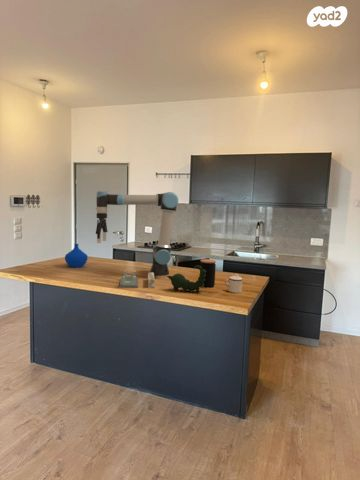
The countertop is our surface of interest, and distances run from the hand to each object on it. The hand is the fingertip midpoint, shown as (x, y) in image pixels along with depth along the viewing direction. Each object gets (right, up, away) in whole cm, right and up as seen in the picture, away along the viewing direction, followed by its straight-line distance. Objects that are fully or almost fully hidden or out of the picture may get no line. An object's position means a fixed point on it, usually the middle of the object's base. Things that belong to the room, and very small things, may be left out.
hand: (101, 242), depth 242 cm
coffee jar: (+76, -31, -9) cm, 83 cm away
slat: (+37, -30, -10) cm, 48 cm away
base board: (+22, -29, -12) cm, 38 cm away
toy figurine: (+61, -32, -25) cm, 73 cm away
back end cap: (+21, -26, -4) cm, 34 cm away
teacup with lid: (+93, -33, -20) cm, 100 cm away
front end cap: (+23, -28, -21) cm, 42 cm away
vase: (-30, -21, +38) cm, 53 cm away
